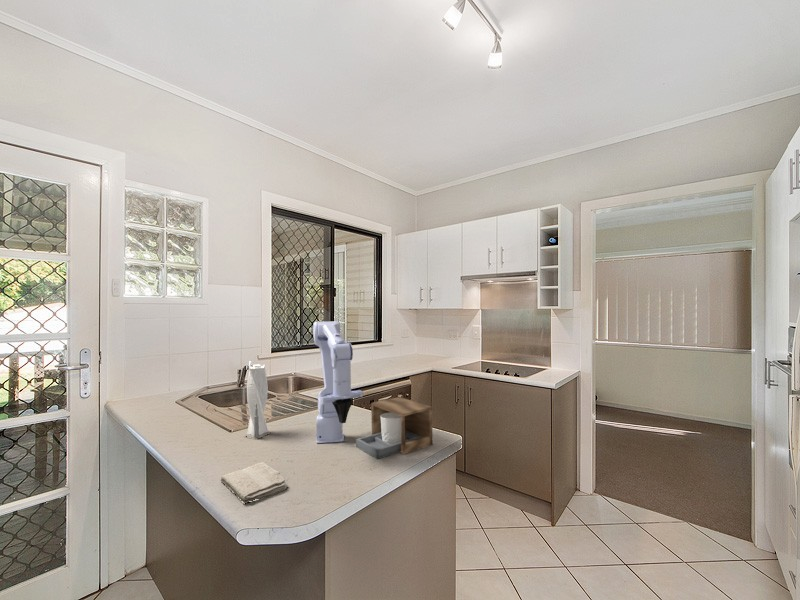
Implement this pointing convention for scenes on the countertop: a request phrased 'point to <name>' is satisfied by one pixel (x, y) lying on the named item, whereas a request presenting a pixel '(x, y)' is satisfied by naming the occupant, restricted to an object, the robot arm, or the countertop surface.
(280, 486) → the washcloth
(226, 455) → the countertop surface
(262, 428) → the skyscraper
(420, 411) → the shelf
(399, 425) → the white cup
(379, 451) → the tray
